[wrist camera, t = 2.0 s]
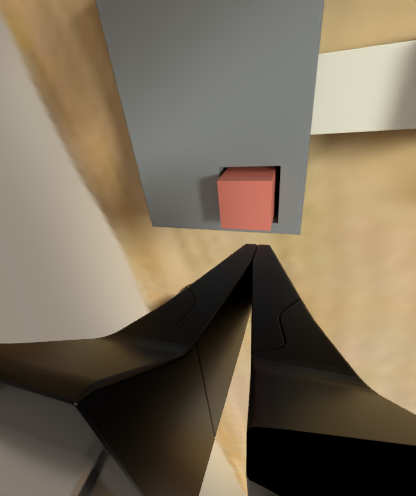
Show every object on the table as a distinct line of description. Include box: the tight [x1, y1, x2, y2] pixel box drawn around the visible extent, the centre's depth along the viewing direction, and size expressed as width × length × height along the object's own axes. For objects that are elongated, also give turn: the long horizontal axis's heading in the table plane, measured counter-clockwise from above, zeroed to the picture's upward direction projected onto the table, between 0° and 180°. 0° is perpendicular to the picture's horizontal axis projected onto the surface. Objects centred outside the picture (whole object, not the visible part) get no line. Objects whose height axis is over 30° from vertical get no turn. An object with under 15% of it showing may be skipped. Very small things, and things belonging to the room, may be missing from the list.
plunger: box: [217, 166, 279, 231], centre depth 15 cm, size 3×3×5 cm
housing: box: [95, 0, 324, 235], centre depth 15 cm, size 10×14×5 cm
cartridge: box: [310, 40, 416, 135], centre depth 12 cm, size 18×4×6 cm, turn 96°
